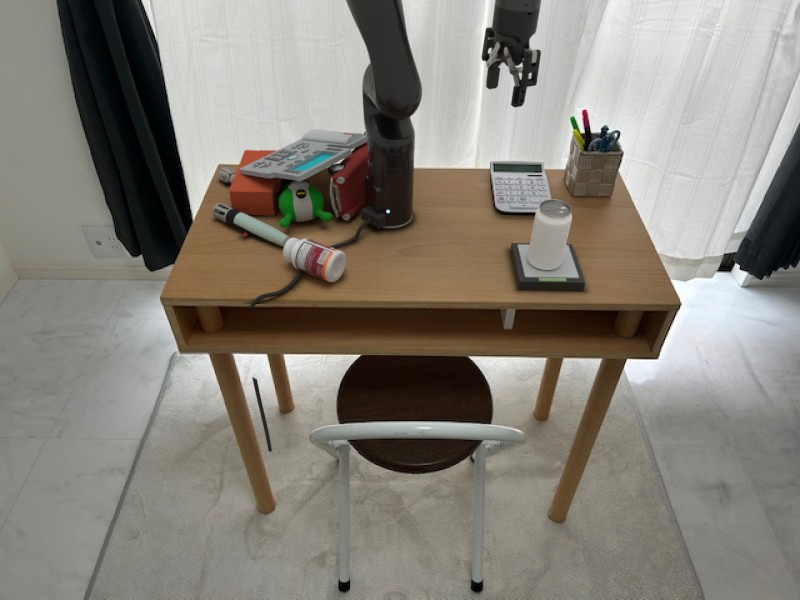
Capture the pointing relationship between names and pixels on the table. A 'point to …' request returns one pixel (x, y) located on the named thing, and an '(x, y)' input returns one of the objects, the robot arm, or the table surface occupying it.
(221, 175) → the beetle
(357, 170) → the toy car
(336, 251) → the pill bottle
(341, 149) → the office telephone
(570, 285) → the scale
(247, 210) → the brick
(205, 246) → the table surface
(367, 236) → the table surface
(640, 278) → the table surface
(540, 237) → the can
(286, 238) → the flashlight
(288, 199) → the toy
